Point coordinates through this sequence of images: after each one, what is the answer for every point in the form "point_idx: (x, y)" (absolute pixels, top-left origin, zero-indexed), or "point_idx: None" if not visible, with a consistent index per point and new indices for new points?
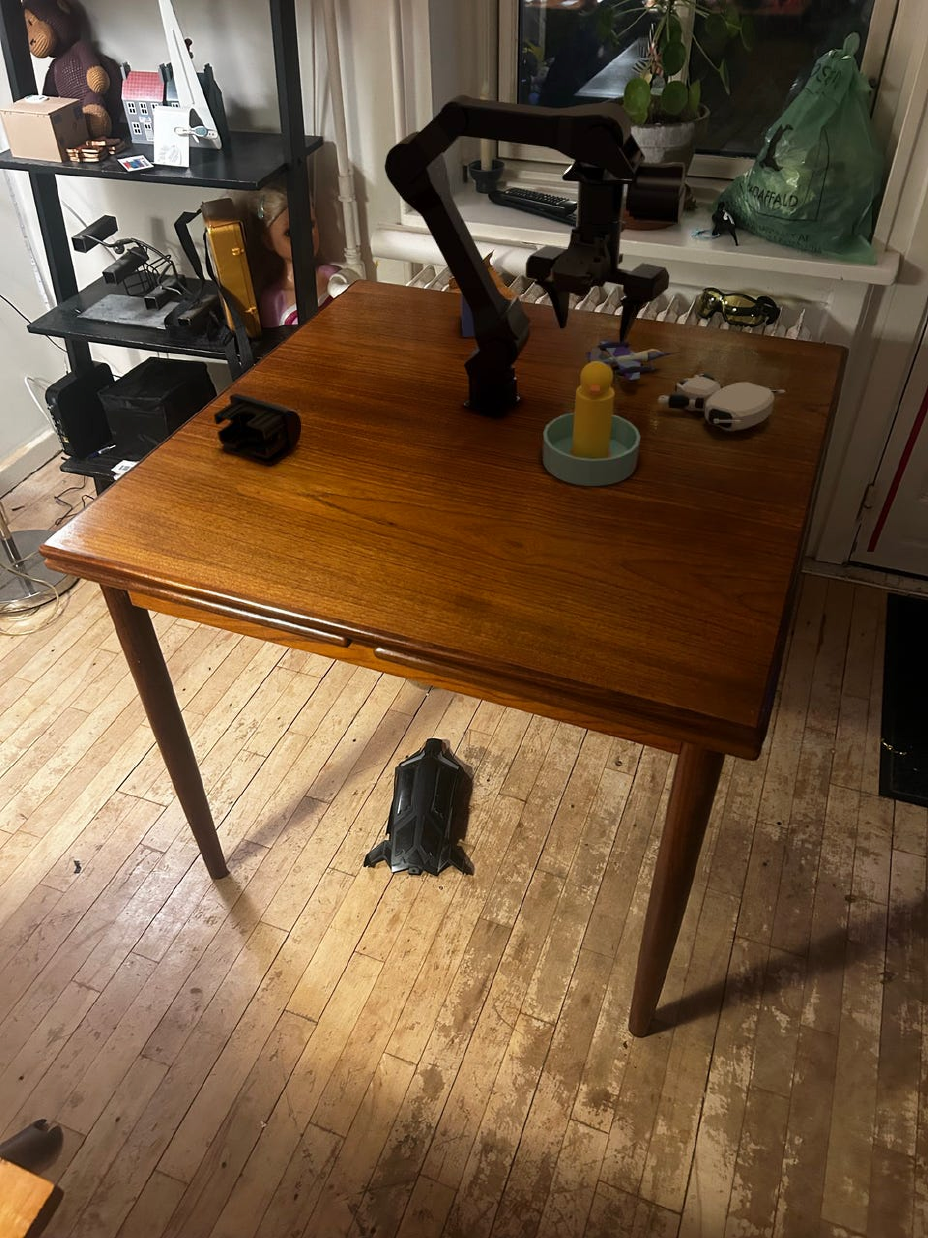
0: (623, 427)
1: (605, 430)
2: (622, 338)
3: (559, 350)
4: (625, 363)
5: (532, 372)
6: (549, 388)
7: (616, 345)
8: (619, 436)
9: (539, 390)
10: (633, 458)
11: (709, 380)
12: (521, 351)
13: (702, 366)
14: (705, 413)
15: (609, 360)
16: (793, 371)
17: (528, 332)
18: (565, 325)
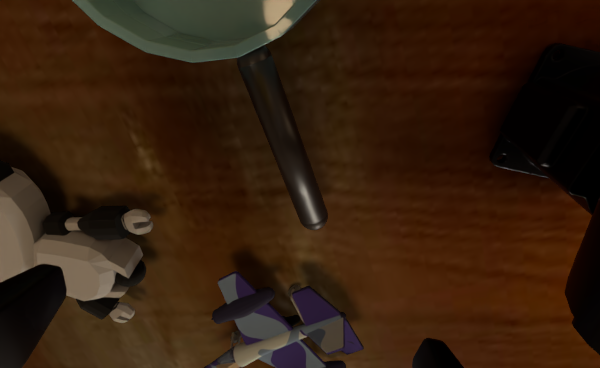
0: (132, 24)
1: None
2: (18, 276)
3: None
4: (268, 327)
5: (471, 284)
6: (419, 234)
7: None
8: (161, 27)
9: (442, 220)
10: None
11: None
12: (597, 212)
13: (166, 355)
14: (24, 186)
15: (303, 329)
16: (44, 363)
17: (593, 324)
18: (415, 362)
